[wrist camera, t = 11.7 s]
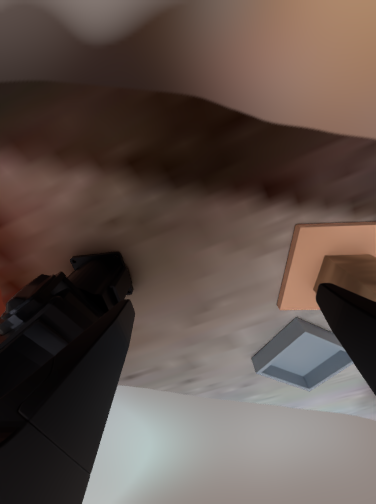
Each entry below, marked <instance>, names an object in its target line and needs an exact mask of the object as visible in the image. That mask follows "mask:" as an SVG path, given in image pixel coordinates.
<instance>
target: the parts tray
mask: <svg viewBox="0 0 376 504" xmlns="http://www.w3.org/2000/svg"><path fill="white" fill-rule="evenodd" d="M252 361H253V365H254V368H255V372H256V374H259V375H262V376H265V377H268V378H271V379H274V380H277V381H280V382H283V383H286V384H289V385H292V386H295V387H298V388H301V389H303V390H306V391H309V392H310V391H311V390H313V389H314V388H316V387H317V386H319V385H320V384H322V383H324V382H325V381H327V380H328V379H330V378H331V377H333V376H334V375H336V374H338V373H339V372H341V371H342V370H344V369H345V368H347V367H349V366H350V365H352V364H353V361H352V360H351V358H350V357H349V356H348V354H347V353H346V351H345V350H344V348H343V347H342V345H341V344H340V342H339V341H338V339H337V338H336V336H335V335H334V333H332V332H329V331H327V330H325V329H322V328H320V327H318V326H315V325H313V324H311V323H308V322H306V321H304V320H301V319H299V318H297V317H296V318H295V319H294V320H293V321H292V322H290V323H289V324H288V325H287V326H286V327H285V328H284V329H283V330H282V331H281V332H280V333H278V334H277V335H276V336H275V337H274V338H273V339H272V340H271V341H270V342H269V343H268V344H267V345H265V346H264V347H263V348H262V349H261V350H260V351H259V352H258V353H257V354H256V355H255V356H253V357H252Z"/></svg>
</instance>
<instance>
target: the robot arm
mask: <svg viewBox="0 0 376 504" xmlns="http://www.w3.org/2000/svg"><path fill="white" fill-rule="evenodd" d="M115 255H117V256H118V257H116V256H115ZM74 260H76V261H74ZM70 262H71V264H72V266H73V268H74V271H73V272H72V273H71V274H70V275H69V276H68V277H66V275H65V274H64V273H63V272H62V271H61V272H59V273H58V274H56V275H52V276H51V275H50V276H48V275H44V274H41V275H40V276H38V277H37V278H36V279H34V280H33V281H32V282H30V283H29V284H28V285H26V286H25V287H24V288H23V289H21V290H20V291H19V292H18V293H17V294H16V295H15V296H14V297H13V298H11V299H10V300H9V301H8V302H7V304H6V311H5V312H4V313H3V314H2V316H1V317H0V504H82V501H83V498H84V495H85V491H86V488H87V485H88V481H89V478H90V473H91V471H92V468H93V464H94V461H95V458H96V454H97V451H98V448H99V444H100V441H101V438H102V434H103V431H104V428H105V424H106V421H107V418H108V414H109V411H110V408H111V404H112V401H113V398H114V394H115V391H116V388H117V384H118V381H119V378H120V374H121V371H122V368H123V364H124V361H125V358H126V354H127V351H128V348H129V344H130V339H131V333H132V328H133V323H134V317H135V311H134V308H133V305H132V303H131V301H130V300H129V299H126V300H124V298H125V296H126V295H131V294H132V293H133V287H132V285H131V284H132V281H131V278H130V275H129V272H128V269H127V268H126V267H125V264H124V261H123V259H122V256H121V254H120V253H119V252H109V253H101V254H92V255H83V256H74V257H72V258H71V259H70ZM128 290H129V291H128ZM316 302H317V304H318V306H319V308H320V310H321V311H322V313H323V315H324V317H325V319H326V321H327V322H328V324H329V326H330V328H331V330H332V331H333V333H334V335H335V336H336V338H337V339H338V341H339V342H340V344H341V345H342V347H343V348H344V350H345V351H346V353H347V354H348V356H349V357H350V358H351V360H352V361H353V363H354V364H355V366H356V367H357V369H358V370H359V372H360V373H361V375H362V376H363V378H364V379H365V381H366V382H367V384H368V385H369V386H370V388H371V389H372V391H373V392H374V394H375V395H376V302H375V301H372V300H370V299H368V298H365V297H363V296H360V295H358V294H356V293H353V292H351V291H349V290H346V289H344V288H342V287H339V286H337V285H335V284H332V283H320V284H319V285H318V289H317V293H316Z"/></svg>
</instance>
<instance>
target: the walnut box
mask: <svg viewBox="0 0 376 504" xmlns="http://www.w3.org/2000/svg"><path fill="white" fill-rule="evenodd" d="M320 283H332V284H335V285H337V286H339V287H342V288H344V289H346V290H349V291H351V292H353V293H356V294H358V295H360V296H363V297H365V298H368V299H370V300H372V301H375V302H376V257H374V256H372V255H370V254H361V255H326V256H324V259H323V262H322V265H321V268H320V271H319V274H318V277H317V280H316V282H315V285H314V288H313V290H314V291H315V293H317V289H318V285H319V284H320Z"/></svg>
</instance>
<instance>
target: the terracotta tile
mask: <svg viewBox="0 0 376 504" xmlns="http://www.w3.org/2000/svg"><path fill="white" fill-rule="evenodd" d="M361 254H370V255H372V256H374V257H376V222H351V223H324V224H297V225H296V226H295V230H294V234H293V239H292V243H291V247H290V251H289V256H288V260H287V264H286V268H285V273H284V277H283V281H282V286H281V290H280V294H279V298H278V303H277V306H278V308H279V309H280V310H320V308H319V306H318V304H317V302H316V293H315V291H314V290H313V288H314V285H315V282H316V280H317V277H318V274H319V271H320V268H321V265H322V262H323V259H324V256H326V255H361Z"/></svg>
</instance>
